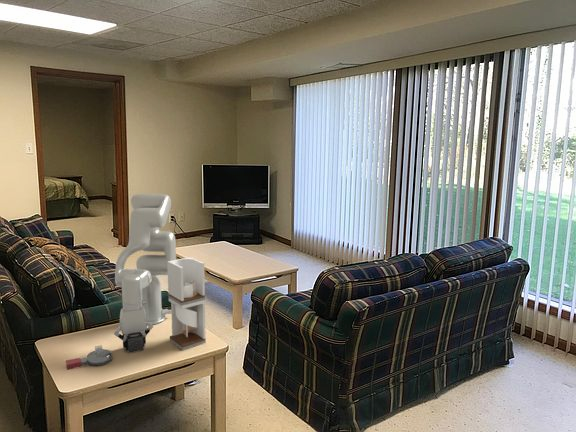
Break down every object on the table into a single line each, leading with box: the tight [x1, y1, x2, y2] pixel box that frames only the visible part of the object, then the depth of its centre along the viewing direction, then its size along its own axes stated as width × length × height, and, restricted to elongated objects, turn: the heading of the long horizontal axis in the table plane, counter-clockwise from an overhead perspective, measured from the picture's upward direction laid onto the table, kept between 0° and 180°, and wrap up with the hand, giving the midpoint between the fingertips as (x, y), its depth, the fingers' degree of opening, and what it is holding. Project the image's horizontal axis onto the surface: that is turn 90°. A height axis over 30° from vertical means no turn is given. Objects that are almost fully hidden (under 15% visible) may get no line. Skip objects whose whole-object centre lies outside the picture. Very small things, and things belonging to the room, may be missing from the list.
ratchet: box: [65, 344, 113, 371], centre depth 175 cm, size 16×9×6 cm, turn 120°
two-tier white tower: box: [167, 256, 207, 351], centre depth 191 cm, size 11×11×35 cm
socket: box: [126, 332, 145, 354], centre depth 187 cm, size 6×6×7 cm
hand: (134, 346), depth 187 cm, fingers closed on socket, 6 cm apart
